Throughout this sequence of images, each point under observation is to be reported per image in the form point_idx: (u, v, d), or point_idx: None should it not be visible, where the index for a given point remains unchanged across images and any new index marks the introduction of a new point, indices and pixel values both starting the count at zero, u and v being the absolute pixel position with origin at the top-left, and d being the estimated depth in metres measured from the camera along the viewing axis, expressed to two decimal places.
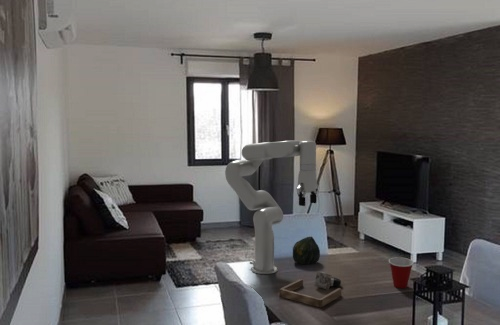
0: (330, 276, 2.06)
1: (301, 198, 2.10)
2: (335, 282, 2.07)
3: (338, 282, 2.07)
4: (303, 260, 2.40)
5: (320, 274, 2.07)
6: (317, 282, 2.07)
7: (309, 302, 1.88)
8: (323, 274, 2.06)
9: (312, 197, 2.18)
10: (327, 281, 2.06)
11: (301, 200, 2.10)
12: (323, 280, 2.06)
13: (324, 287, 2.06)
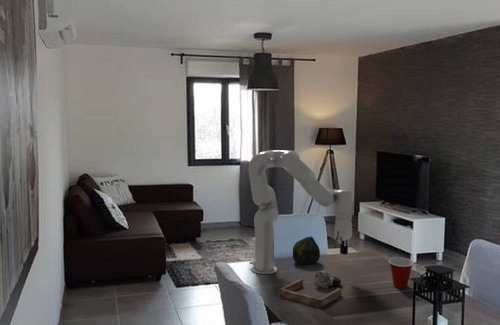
0: (329, 275, 2.07)
1: (343, 247, 2.18)
2: (334, 281, 2.07)
3: (337, 282, 2.08)
4: (303, 260, 2.40)
5: (319, 273, 2.08)
6: (316, 281, 2.08)
7: (309, 302, 1.88)
8: (322, 273, 2.07)
9: None
10: (326, 280, 2.07)
11: (343, 249, 2.18)
12: (322, 279, 2.07)
13: (323, 286, 2.07)
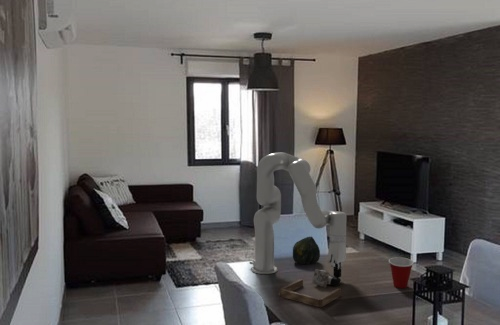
0: (327, 274, 2.08)
1: (336, 270, 2.15)
2: (333, 281, 2.08)
3: (336, 281, 2.09)
4: (303, 260, 2.40)
5: (318, 272, 2.10)
6: (315, 279, 2.10)
7: (309, 302, 1.88)
8: (321, 272, 2.09)
9: None
10: (324, 279, 2.08)
11: (336, 272, 2.15)
12: (320, 278, 2.09)
13: (321, 285, 2.09)
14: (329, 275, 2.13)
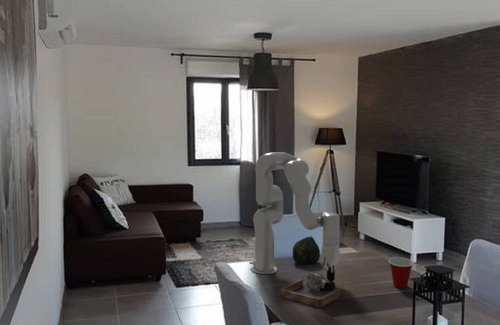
0: (321, 278, 2.02)
1: (329, 273, 2.10)
2: (326, 285, 2.03)
3: (330, 285, 2.03)
4: (303, 260, 2.40)
5: (311, 275, 2.04)
6: (308, 283, 2.05)
7: (309, 302, 1.88)
8: (314, 276, 2.04)
9: None
10: (318, 283, 2.03)
11: (329, 275, 2.10)
12: (314, 282, 2.03)
13: (315, 289, 2.03)
14: (323, 279, 2.07)
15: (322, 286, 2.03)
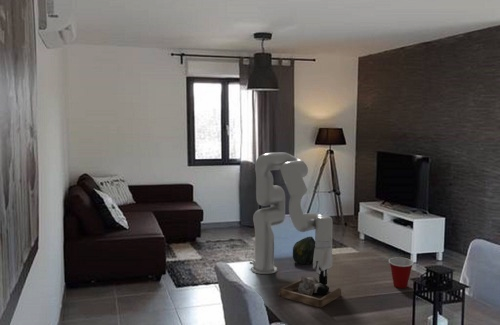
0: (314, 282, 1.97)
1: (322, 277, 2.05)
2: (319, 289, 1.97)
3: (323, 290, 1.97)
4: (303, 260, 2.40)
5: (304, 279, 1.99)
6: (301, 287, 2.00)
7: (309, 302, 1.88)
8: (307, 279, 1.99)
9: None
10: (310, 287, 1.98)
11: (322, 279, 2.05)
12: (306, 286, 1.98)
13: (307, 293, 1.98)
14: (317, 283, 2.02)
15: (315, 290, 1.97)
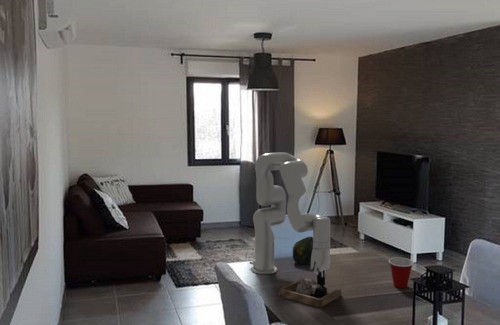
0: (311, 284, 1.96)
1: (319, 278, 2.03)
2: (317, 291, 1.96)
3: (321, 291, 1.96)
4: (303, 260, 2.40)
5: (302, 280, 1.98)
6: (299, 288, 1.98)
7: (309, 302, 1.88)
8: (305, 281, 1.97)
9: None
10: (308, 288, 1.96)
11: (319, 280, 2.03)
12: (304, 287, 1.97)
13: (305, 294, 1.97)
14: (315, 284, 2.00)
15: (313, 292, 1.96)
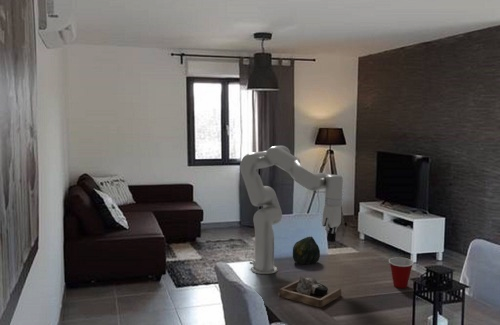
0: (311, 283, 1.97)
1: (330, 234, 2.10)
2: (317, 290, 1.97)
3: (321, 291, 1.97)
4: (303, 260, 2.40)
5: (302, 279, 1.99)
6: (299, 287, 2.00)
7: (309, 302, 1.88)
8: (305, 280, 1.99)
9: None
10: (308, 288, 1.97)
11: (330, 236, 2.11)
12: (304, 286, 1.98)
13: (305, 293, 1.98)
14: (316, 284, 2.01)
15: (312, 291, 1.97)
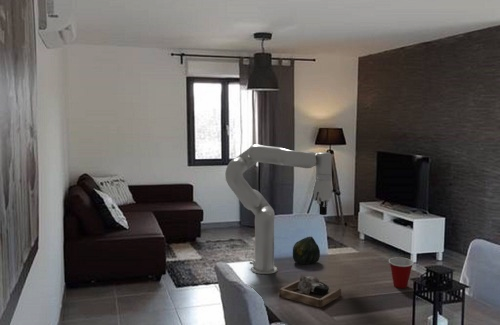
0: (311, 281, 1.99)
1: (322, 208, 2.26)
2: (317, 289, 1.98)
3: (320, 290, 1.98)
4: (303, 260, 2.40)
5: (303, 277, 2.02)
6: (300, 285, 2.03)
7: (309, 302, 1.88)
8: (305, 278, 2.01)
9: None
10: (308, 286, 1.99)
11: (322, 209, 2.26)
12: (304, 284, 2.00)
13: (305, 291, 2.00)
14: (317, 283, 2.03)
15: (312, 289, 1.99)
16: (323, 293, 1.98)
